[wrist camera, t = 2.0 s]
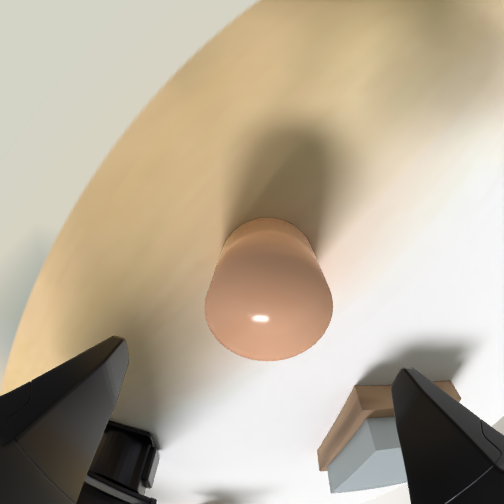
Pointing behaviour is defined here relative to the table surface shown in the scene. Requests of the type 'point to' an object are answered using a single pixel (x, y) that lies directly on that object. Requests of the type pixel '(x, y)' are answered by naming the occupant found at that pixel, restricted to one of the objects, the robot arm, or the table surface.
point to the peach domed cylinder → (268, 292)
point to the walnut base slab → (363, 416)
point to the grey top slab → (369, 458)
